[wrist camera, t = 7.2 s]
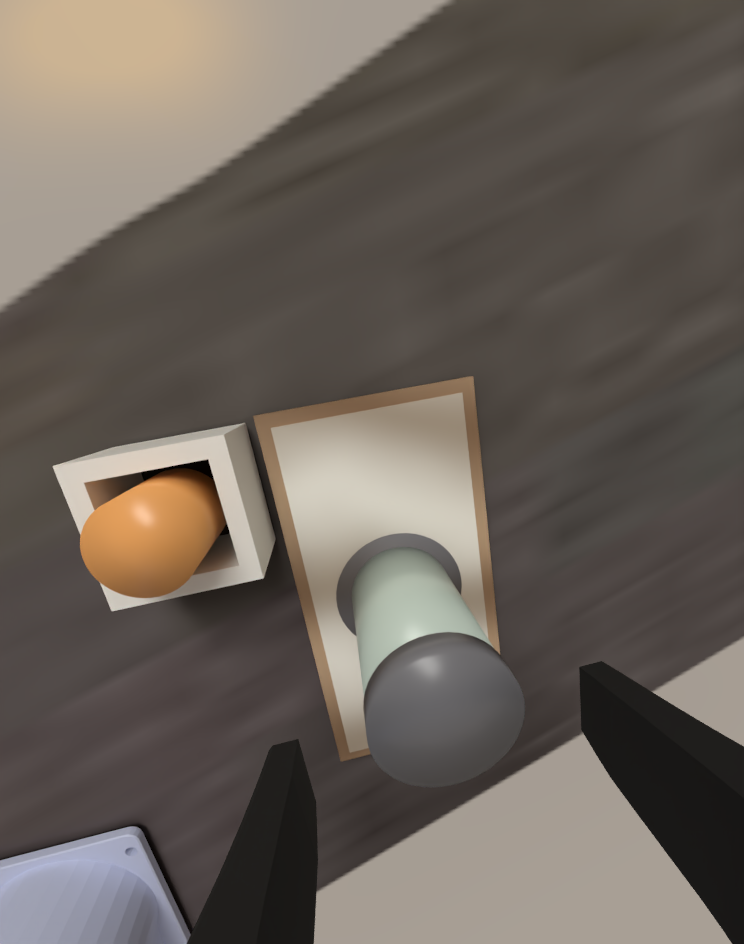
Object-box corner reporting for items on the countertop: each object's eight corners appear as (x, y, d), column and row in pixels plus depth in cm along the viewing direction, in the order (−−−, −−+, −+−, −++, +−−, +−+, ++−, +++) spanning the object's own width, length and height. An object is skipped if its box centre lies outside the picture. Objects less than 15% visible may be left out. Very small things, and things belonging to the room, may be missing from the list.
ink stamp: (454, 623, 16) (529, 764, 10) (360, 645, 15) (381, 804, 10) (443, 536, 15) (519, 637, 9) (341, 557, 14) (352, 677, 9)
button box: (275, 539, 14) (263, 578, 12) (155, 564, 14) (111, 611, 11) (245, 423, 13) (223, 434, 10) (113, 447, 13) (52, 466, 10)
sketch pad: (502, 711, 18) (507, 721, 17) (340, 753, 17) (340, 765, 17) (469, 376, 14) (474, 376, 13) (255, 415, 13) (252, 416, 13)
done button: (238, 538, 13) (212, 585, 10) (154, 556, 12) (103, 608, 10) (215, 460, 12) (180, 485, 9) (126, 477, 12) (62, 509, 9)
